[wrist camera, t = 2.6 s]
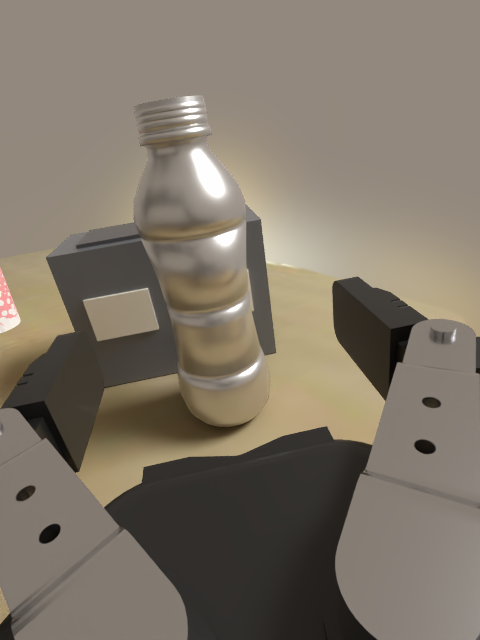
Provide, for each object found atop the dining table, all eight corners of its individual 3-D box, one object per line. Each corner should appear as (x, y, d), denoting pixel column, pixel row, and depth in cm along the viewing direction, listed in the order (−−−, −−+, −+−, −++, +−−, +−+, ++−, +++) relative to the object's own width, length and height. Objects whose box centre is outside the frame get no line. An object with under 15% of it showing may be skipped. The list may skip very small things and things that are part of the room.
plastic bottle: (225, 456, 24) (145, 95, 15) (170, 410, 29) (82, 116, 19) (292, 403, 27) (261, 85, 18) (233, 370, 32) (184, 105, 23)
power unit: (110, 348, 39) (69, 231, 33) (260, 318, 40) (245, 200, 34) (97, 390, 32) (42, 255, 27) (276, 354, 33) (260, 216, 28)
